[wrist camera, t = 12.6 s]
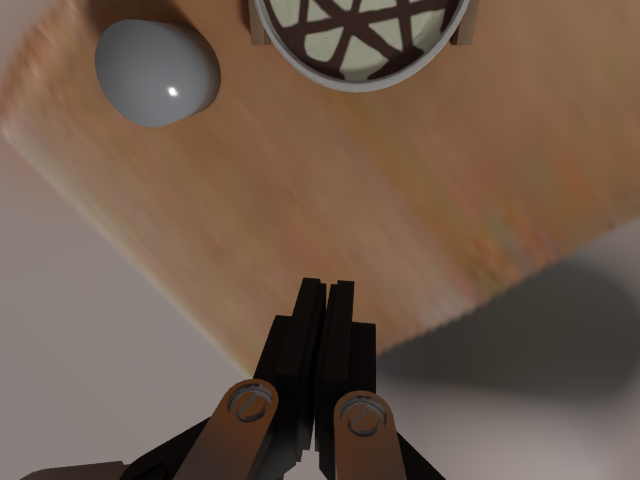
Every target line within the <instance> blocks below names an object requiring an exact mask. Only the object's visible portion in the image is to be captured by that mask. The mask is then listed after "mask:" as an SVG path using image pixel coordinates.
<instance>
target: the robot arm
mask: <svg viewBox="0 0 640 480" xmlns="http://www.w3.org/2000/svg"><path fill="white" fill-rule="evenodd" d="M353 298H354V281H342V280H338V283H337V285H336V284H331V287H330V293H329V298H328V304H327V310H326V284H324V283H321V281H320V279H316V278H303V281H302V284H301V287H300V291H299V294H298V297H297V300H296V304H295V307H294V310H293V314H292V316H281V315H277V316H275V319H274V321H273V324H272V327H271V329H270V332H269V335H268V338H267V340H266V343H265V346H264V349H263V351H262V354H261V357H260V360H259V363H258V365H257V368H256V371H255V374H254V376H253V379H248V380H244V381H241V382H239V383H236V384H235V385H234V386H232V387H231V388H230V389H229V390H228V391H227V392H226V393H225V395H224V396H223V398H222V400H221V401H220V403H219V404H218V406H217V408H216V409H215V411H214V412H213V414H212V416H211V417H209V418H207V419H205V420H204V421H202V422H200V423H198V424H197V425H195V426H193V427H191V428H190V429H188V430H186V431H184V432H183V433H181V434H179V435H177V436H176V437H174V438H172V439H170V440H169V441H167V442H165V443H163V444H162V445H160V446H158V447H157V448H155V449H153V450H151V451H150V452H148V453H146V454H145V455H143V456H141V457H140V458H138V459H137V460H136V461H134V462H133V463H131V464H127V465H124V464H123V462H122V461H115V462H105V463H96V464H87V465H78V466H68V467H59V468H49V469H43V470H39V471H35V472H32V473H30V474H29V475H27V476H25V477H23V478H21V479H20V480H283V478H284V474H285V473H286V472H287V471H289V470H290V469H291V468H293V467H294V466H295V465H296V462H301V456H302V450H309V449H310V445H311V438H312V432H313V426H314V419H315V451H318V452H319V468H320V470H321V471H322V473H323V474H324V476H325V477H326V478H327V480H446V479H445V478H444V477H443V476H442V475H441V474H440V473H439V472H438V471H437V470H436V469H435V468H434V467H432V465H431V464H430V463H429V462H428V461H426V459H424V458H423V457H422V456H421V455H420V454H419V453H418V452H417V451H416V450H415V449H414V448H413V447H412V446H411V445H410V444H409V443H408V442H407V441H406V440H405V439H404V438H403V437H402V436H401V435H400V434H399V433H398V432H397V431H396V427H395V422H394V418H393V414H392V411H391V409H390V407H389V405H388V404H387V403H386V401H385V400H384V399H382V398H381V397H380V396H378V395H377V394H376V325H375V324H371V323H360V322H352V315H353Z"/></svg>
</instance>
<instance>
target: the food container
mask: <svg viewBox="0 0 640 480" xmlns="http://www.w3.org/2000/svg"><path fill="white" fill-rule="evenodd" d="M469 1H470V0H254V2H255V6H256V9H257V12H258V14H259V17H260V19H261V22H262V24H263V26H264V28H265V30H266V32H267V33H268V35H269V37H270V39H271V40H272V42H273V44H274V45H275V47H276V48H277V49H278V51H279V52H280V53H281V54H282V56H283V57H284V58H285V59H286V60H287V61H288V62H289V63H290V64H291V65H292V66H293V67H294V68H295V69H296V70H297V71H298V72H300V73H301V74H303V75H304V76H306V77H307V78H308V79H310V80H312V81H314V82H316V83H318V84H320V85H322V86H324V87H328V88H331V89H335V90H338V91H346V92H370V91H374V90H379V89H383V88H387V87H389V86H392V85H394V84H397V83H399V82H401V81H403V80H405V79H406V78H408V77H410V76H411V75H413V74H415V73H416V72H418V71H419V70H420V69H421V68H423V67H424V66H425V65H426V64H428V63H429V62H430V61H431V60H432V59H433V58H434V57H435V56H436V55H437V54H438V52H439V51H440V50H441V49H442V48H443V47H444V46H445V44H446V43H447V42H448V40H449V39H450V37H451V36H452V34H453V33H454V32H455V30H456V28H457V26H458V25H459V23H460V21H461V19H462V17H463V15H464V13H465V11H466V9H467V6H468V3H469Z"/></svg>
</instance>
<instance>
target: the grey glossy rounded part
mask: <svg viewBox="0 0 640 480" xmlns="http://www.w3.org/2000/svg"><path fill="white" fill-rule="evenodd" d="M95 68H96V74H97V78H98V81H99V84H100V86H101V88H102V90H103V92H104V94H105V96H106V97H107V99H108V100H109V102H110V103H111V104H112V105H113V107H114V108H115V109H116V110H117V111H118V112H119V113H121V114H122V115H123V116H124V117H126V118H127V119H129V120H131V121H133V122H135V123H137V124H140V125H143V126H147V127H161V126H165V125H168V124H170V123H173V122H176V121H178V120H181V119H183V118H186V117H188V116H191V115H193V114H196V113H198V112H201V111H203V110H205V109H206V108H208V107H209V106H210V105H211V104H212V103H213V101H214V100H215V98H216V96H217V94H218V92H219V88H220V83H221V72H220V66H219V62H218V59H217V56H216V54H215V52H214V50H213V48H212V47H211V45H210V44H209V43H208V41H207V40H206V39H205V38H204V37H203V36H202V35H201V34H200V33H198V32H197V31H196V30H194V29H192V28H190V27H188V26H185V25H182V24H176V23H166V22H156V21H146V20H136V19H126V20H121V21H118V22H116V23H114V24H112V25H111V26H109V27H108V28H107V29H106V30H105V31H104V32H103V34H102V35H101V37H100V39H99V41H98V44H97V47H96V52H95Z"/></svg>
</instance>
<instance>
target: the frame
mask: <svg viewBox="0 0 640 480" xmlns="http://www.w3.org/2000/svg"><path fill="white" fill-rule="evenodd" d="M478 2H479V0H470V1H469V3H468V6H467V9H466V11H465V13H464V15H463V17H462V19H461V21H460V23H459V25H458V26H457V28H456V30H455V32H454V33H453V37H452V43H451V45H471V43H472V37H473V31H474V25H475V20H476V14H477V8H478ZM248 3H249V16H250V29H251V42H252V45H271V39H270V37H269V35H268V33H267V32H266V30H265V28H264V26H263V24H262V22H261V19H260V17H259V14H258V12H257V9H256V6H255V2H254V0H248Z"/></svg>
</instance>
